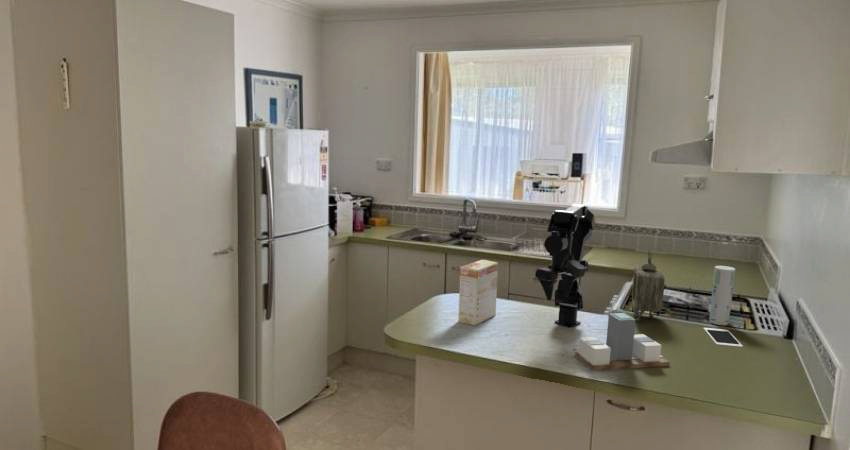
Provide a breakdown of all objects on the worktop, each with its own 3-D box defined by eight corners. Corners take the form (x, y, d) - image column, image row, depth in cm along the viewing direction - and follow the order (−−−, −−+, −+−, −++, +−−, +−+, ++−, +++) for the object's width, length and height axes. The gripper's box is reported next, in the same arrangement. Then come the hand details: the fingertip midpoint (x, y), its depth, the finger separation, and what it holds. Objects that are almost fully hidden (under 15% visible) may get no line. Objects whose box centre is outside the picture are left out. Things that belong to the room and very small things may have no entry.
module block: (605, 352, 173) (608, 312, 171) (620, 351, 174) (624, 312, 172) (616, 360, 167) (619, 319, 165) (631, 359, 168) (635, 318, 166)
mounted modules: (593, 365, 164) (594, 348, 163) (578, 353, 172) (579, 336, 172) (659, 360, 168) (661, 344, 168) (641, 349, 177) (643, 333, 176)
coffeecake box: (479, 311, 213) (481, 259, 210) (496, 315, 209) (499, 262, 206) (457, 321, 201) (459, 266, 198) (474, 326, 197) (477, 269, 194)
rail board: (592, 370, 163) (593, 365, 163) (574, 355, 174) (575, 350, 173) (669, 365, 168) (669, 360, 168) (647, 351, 179) (647, 346, 178)
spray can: (730, 326, 204) (737, 270, 201) (709, 323, 206) (716, 268, 203) (727, 320, 211) (733, 266, 207) (707, 318, 213) (713, 264, 209)
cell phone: (727, 331, 201) (727, 329, 200) (743, 348, 185) (743, 346, 185) (703, 329, 202) (703, 327, 202) (716, 345, 186) (716, 343, 186)
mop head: (630, 310, 219) (636, 245, 215) (656, 313, 217) (662, 247, 212) (633, 322, 205) (639, 253, 201) (660, 325, 203) (667, 255, 199)
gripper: (566, 256, 173) (561, 308, 175) (600, 252, 186) (595, 300, 187) (535, 250, 181) (532, 299, 183) (570, 246, 194) (566, 292, 196)
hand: (557, 298), depth 187 cm, fingers open, 9 cm apart
